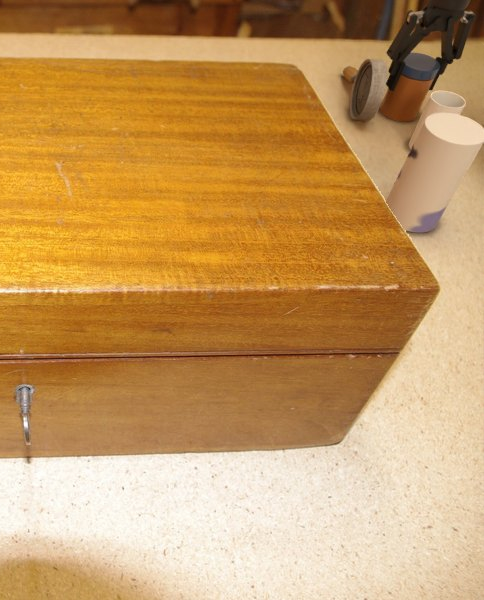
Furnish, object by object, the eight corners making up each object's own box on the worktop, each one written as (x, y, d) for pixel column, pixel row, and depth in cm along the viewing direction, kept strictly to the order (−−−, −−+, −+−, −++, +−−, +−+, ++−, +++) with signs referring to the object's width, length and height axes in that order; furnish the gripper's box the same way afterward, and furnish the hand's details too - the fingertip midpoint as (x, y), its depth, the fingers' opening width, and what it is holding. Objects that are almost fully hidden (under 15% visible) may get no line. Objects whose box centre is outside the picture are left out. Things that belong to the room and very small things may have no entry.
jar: (422, 113, 161) (445, 65, 152) (405, 125, 157) (428, 77, 149) (390, 98, 165) (411, 51, 156) (373, 111, 161) (393, 63, 153)
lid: (426, 61, 156) (430, 52, 155) (442, 80, 151) (446, 71, 149) (391, 61, 156) (394, 52, 155) (405, 80, 151) (409, 71, 149)
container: (385, 194, 140) (428, 106, 126) (438, 209, 137) (488, 120, 123) (378, 223, 134) (422, 134, 120) (434, 239, 131) (486, 150, 117)
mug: (442, 160, 149) (468, 110, 140) (408, 155, 150) (433, 105, 141) (435, 133, 155) (460, 84, 146) (403, 129, 156) (426, 80, 147)
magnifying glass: (349, 43, 168) (377, 65, 146) (362, 44, 167) (392, 67, 146) (334, 97, 174) (359, 126, 153) (346, 98, 174) (373, 128, 153)
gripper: (497, -24, 143) (446, 78, 160) (396, -24, 142) (357, 78, 159) (515, -8, 138) (462, 95, 154) (412, -8, 137) (369, 96, 154)
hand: (408, 87), depth 157 cm, fingers closed on lid, 8 cm apart
